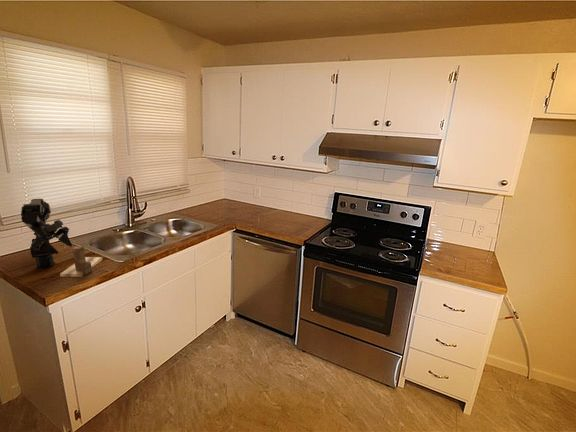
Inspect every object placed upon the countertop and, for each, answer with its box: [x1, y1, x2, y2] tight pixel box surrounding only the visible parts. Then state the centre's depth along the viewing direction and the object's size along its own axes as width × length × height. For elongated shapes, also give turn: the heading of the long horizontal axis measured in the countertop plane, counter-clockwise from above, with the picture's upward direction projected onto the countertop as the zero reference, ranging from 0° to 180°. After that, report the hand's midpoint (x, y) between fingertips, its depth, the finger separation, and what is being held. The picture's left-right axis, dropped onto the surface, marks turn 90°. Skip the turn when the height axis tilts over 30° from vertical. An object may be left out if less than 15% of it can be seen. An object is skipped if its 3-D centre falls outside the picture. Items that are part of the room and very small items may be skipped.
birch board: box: [59, 256, 103, 278], centre depth 163 cm, size 10×20×2 cm, turn 3°
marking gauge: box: [72, 245, 93, 276], centre depth 156 cm, size 6×5×14 cm
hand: (64, 249), depth 154 cm, fingers open, 9 cm apart
